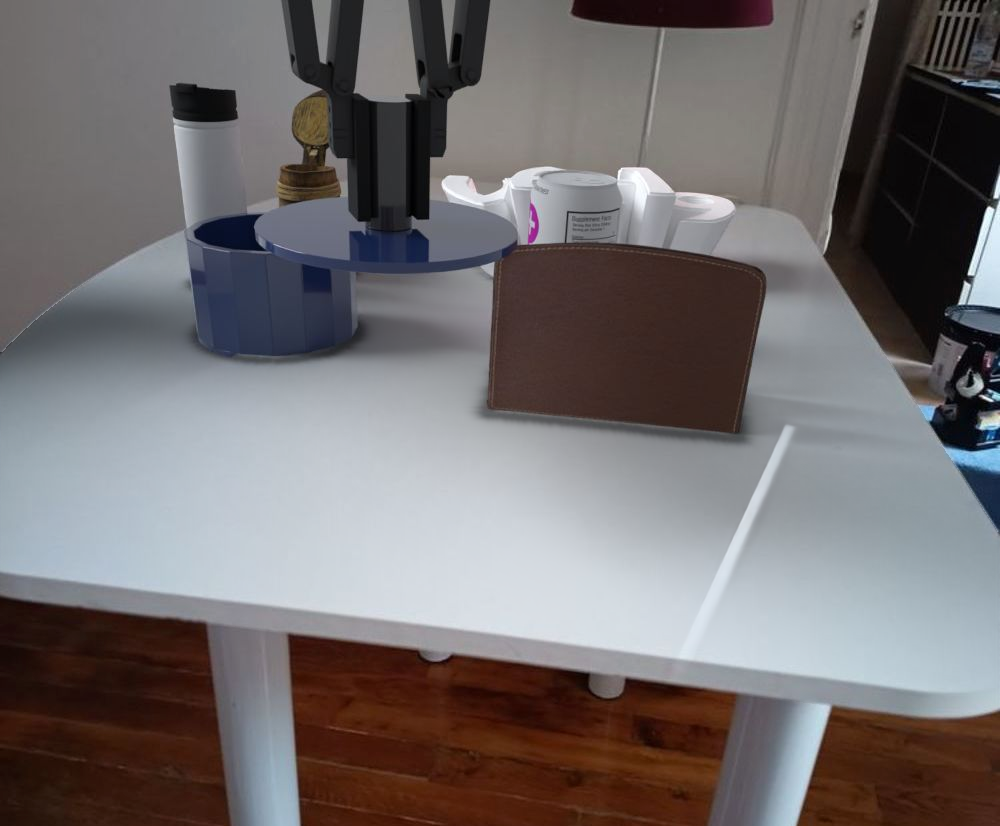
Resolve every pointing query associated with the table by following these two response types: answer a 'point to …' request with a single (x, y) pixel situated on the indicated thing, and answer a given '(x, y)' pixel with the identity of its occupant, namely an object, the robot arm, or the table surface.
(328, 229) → the lid
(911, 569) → the table surface
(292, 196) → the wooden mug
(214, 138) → the travel mug
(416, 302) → the table surface
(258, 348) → the pot
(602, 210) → the supplement can
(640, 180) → the wavy white extrusion
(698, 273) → the letter holder
